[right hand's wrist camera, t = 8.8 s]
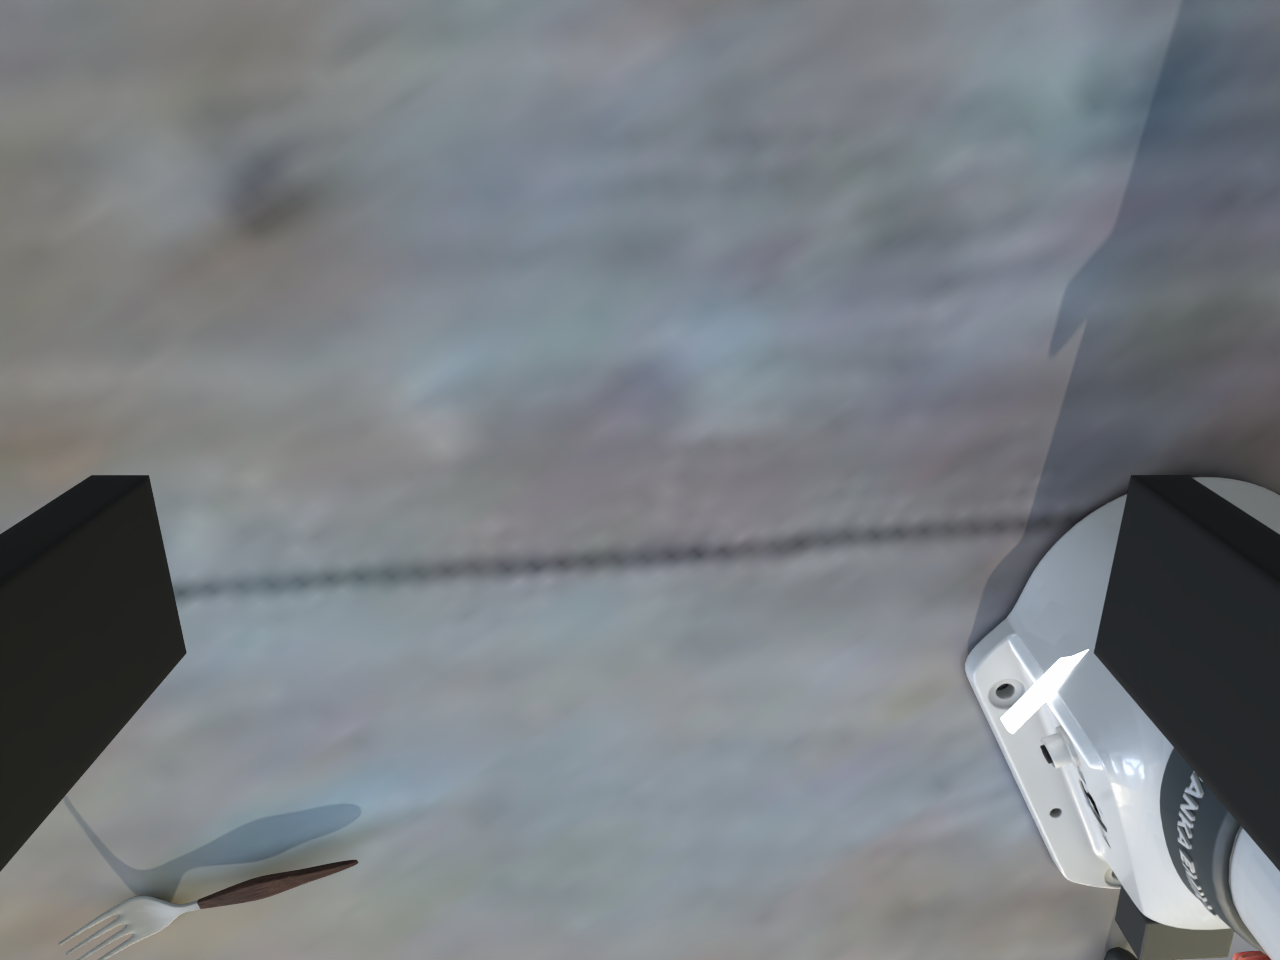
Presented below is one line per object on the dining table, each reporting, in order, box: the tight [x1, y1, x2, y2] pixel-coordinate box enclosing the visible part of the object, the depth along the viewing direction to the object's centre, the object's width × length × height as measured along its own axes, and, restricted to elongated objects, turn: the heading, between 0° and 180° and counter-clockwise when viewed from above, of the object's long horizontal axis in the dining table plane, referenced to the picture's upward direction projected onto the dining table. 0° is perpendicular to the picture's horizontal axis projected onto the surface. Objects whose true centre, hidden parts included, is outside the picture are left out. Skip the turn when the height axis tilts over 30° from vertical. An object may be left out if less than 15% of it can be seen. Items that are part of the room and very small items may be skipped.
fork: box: [59, 860, 358, 960], centre depth 47 cm, size 3×16×2 cm, turn 109°
